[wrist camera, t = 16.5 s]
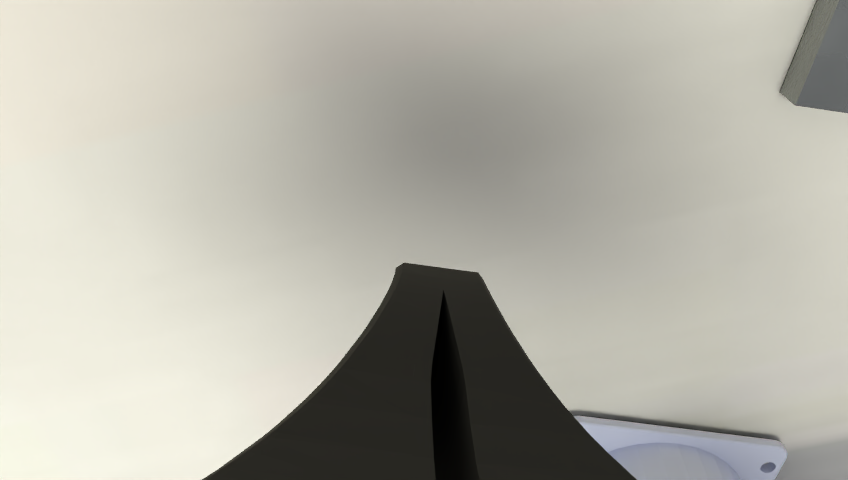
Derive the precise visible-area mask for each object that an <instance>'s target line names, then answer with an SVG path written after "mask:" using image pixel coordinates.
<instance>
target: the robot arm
mask: <svg viewBox="0 0 848 480" xmlns="http://www.w3.org/2000/svg"><path fill="white" fill-rule="evenodd" d="M787 455H788V454H787V451H786V449H785V447H784V445H783V444H782V443H781V442H780V441H777V440H771V439H763V438H755V437H747V436H739V435H731V434H723V433H715V432H707V431H699V430H691V429H683V428H674V427H666V426H658V425H650V424H642V423H634V422H626V421H618V420H610V419H602V418H594V417H586V416H573V415H572V414H571V413H570V412H569V411H568V410H567V409H566V408H565V406H564V405H563V404H562V403H561V401H560V400H559V399H558V398H557V396H556V395H555V394H554V393H553V391H552V390H551V389H550V387H549V386H548V385H547V383H546V382H545V380H544V379H543V378H542V376H541V375H540V374H539V372H538V371H537V370H536V368H535V367H534V365H533V364H532V362H531V361H530V359H529V358H528V356H527V355H526V353H525V352H524V350H523V349H522V347H521V345H520V344H519V342H518V341H517V339H516V338H515V336H514V335H513V333H512V331H511V330H510V328H509V326H508V325H507V323H506V321H505V320H504V318H503V316H502V314H501V312H500V311H499V309H498V307H497V305H496V303H495V302H494V300H493V298H492V296H491V294H490V292H489V290H488V288H487V286H486V284H485V282H484V280H483V279H482V277H481V276H480V275H479V273H477V272H469V271H462V270H454V269H447V268H439V267H432V266H424V265H417V264H409V263H403V264H401V265H400V266H398V267H397V268H396V271H395V275H394V278H393V281H392V283H391V286H390V288H389V290H388V292H387V294H386V296H385V298H384V300H383V301H382V303H381V305H380V307H379V308H378V310H377V311H376V313H375V315H374V316H373V318H372V319H371V321H370V322H369V324H368V325H367V327H366V329H365V330H364V331H363V333H362V334H361V336H360V337H359V338H358V340H357V341H356V342H355V343H354V345H353V346H352V347H351V349H350V350H349V351H348V352H347V354H346V355H345V356H344V358H343V359H342V360H341V361H340V363H339V364H338V365H337V366H336V367H335V368H334V370H333V371H332V372H331V373H330V374H329V375H328V376H327V377H326V379H325V380H324V381H323V382H322V383H321V384H320V385H319V386H318V387H317V388H316V389H315V390H314V391H313V392H312V393H311V394H310V395H309V396H308V397H307V398H306V399H305V400H304V401H303V402H302V403H301V404H300V405H299V406H298V407H296V408H295V409H294V410H293V411H292V412H291V413H290V414H289V415H288V416H287V417H285V418H284V419H283V420H282V421H281V422H280V423H279V424H278V425H276V426H275V427H274V428H273V429H272V430H270V431H269V432H268V433H267V434H265V435H264V436H263V437H262V438H260V439H259V440H258V441H256V442H255V443H254V444H252V445H251V446H249V447H248V448H247V449H245V450H244V451H243V452H241V453H240V454H239V455H237V456H236V457H234V458H233V459H232V460H230V461H229V462H228V463H226V464H225V465H224V466H222V467H221V468H219V469H218V470H216V471H215V472H213V473H212V474H210V475H209V476H207V477H206V478H204V479H202V480H775V478H776V477H777V475H778V473H779V471H780V469H781V467H782V466H783V464H784V462H785V460H786V458H787ZM767 462H768V463H767ZM765 463H766V464H765Z"/></svg>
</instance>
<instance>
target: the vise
mask: <svg viewBox="0 0 848 480" xmlns="http://www.w3.org/2000/svg"><path fill="white" fill-rule="evenodd" d="M780 93H781V94H782V95H784V96H785V97H786V98H787V99H788V100H790V101H791V102H792V103H793V104H794V105H797V106H804V107H810V108H817V109H824V110H831V111H837V112H844V113H848V0H817V2H816V4H815V7H814V9H813V12H812V14H811V17H810V19H809V22H808V24H807V27H806V29H805V32H804V34H803V36H802V39H801V41H800V44H799V46H798V49H797V51H796V54H795V56H794V59H793V61H792V64H791V66H790V69H789V71H788V74H787V76H786V79H785V81H784V84H783V86H782V89H781V91H780Z"/></svg>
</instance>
